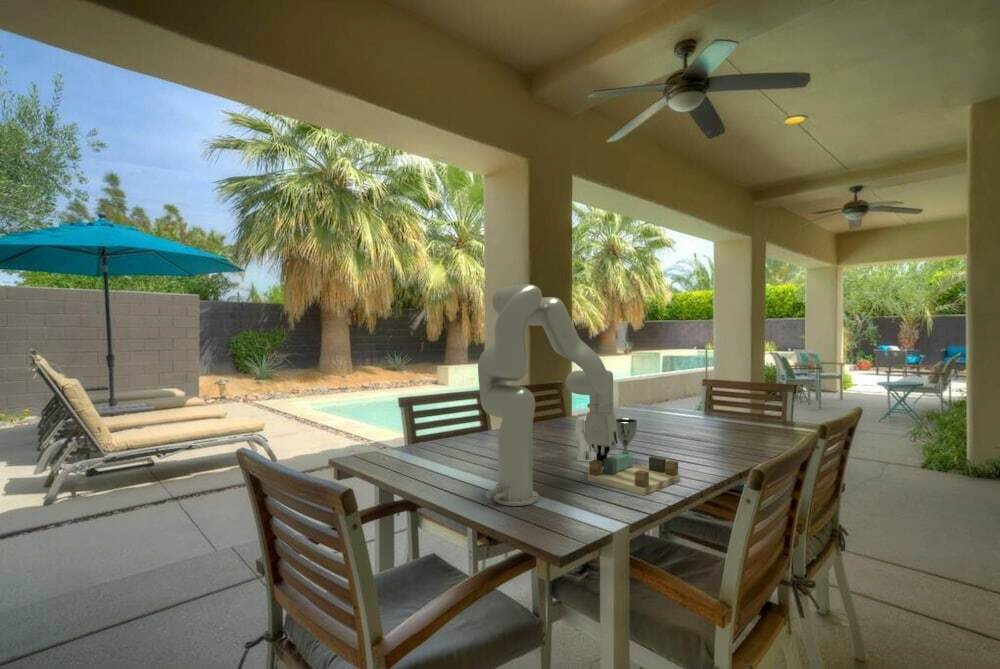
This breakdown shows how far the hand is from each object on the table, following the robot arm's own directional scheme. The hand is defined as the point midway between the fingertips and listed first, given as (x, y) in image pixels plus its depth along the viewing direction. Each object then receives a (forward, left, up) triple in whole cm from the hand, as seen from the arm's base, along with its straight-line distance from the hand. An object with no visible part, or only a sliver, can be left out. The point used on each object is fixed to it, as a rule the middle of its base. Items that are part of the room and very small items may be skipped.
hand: (601, 465), depth 163 cm
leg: (+4, -3, -1) cm, 6 cm away
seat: (+3, -10, -3) cm, 11 cm away
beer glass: (+13, +17, -4) cm, 22 cm away
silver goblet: (+19, +4, -4) cm, 20 cm away
